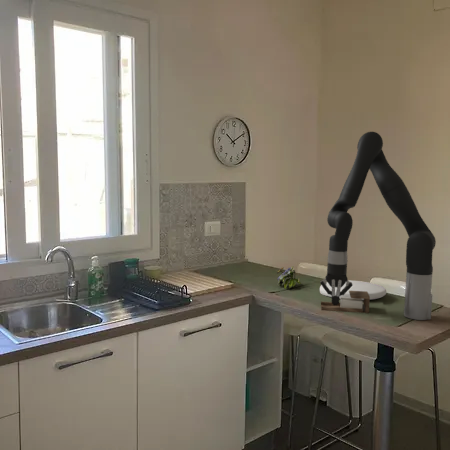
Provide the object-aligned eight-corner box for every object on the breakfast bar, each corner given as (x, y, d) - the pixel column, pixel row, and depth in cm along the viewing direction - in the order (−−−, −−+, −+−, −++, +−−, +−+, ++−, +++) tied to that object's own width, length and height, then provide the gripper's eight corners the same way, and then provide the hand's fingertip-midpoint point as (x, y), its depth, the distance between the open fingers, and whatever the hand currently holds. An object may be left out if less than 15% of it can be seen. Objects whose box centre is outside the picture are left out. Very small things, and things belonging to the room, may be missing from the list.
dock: (366, 309, 208) (367, 291, 207) (368, 315, 200) (369, 297, 199) (320, 306, 211) (321, 289, 210) (321, 312, 203) (322, 294, 202)
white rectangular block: (360, 307, 207) (361, 298, 206) (362, 311, 202) (362, 301, 201) (340, 306, 208) (340, 296, 207) (340, 310, 203) (341, 300, 203)
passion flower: (280, 297, 245) (277, 273, 251) (303, 294, 244) (300, 270, 249) (276, 288, 236) (274, 264, 241) (300, 285, 234) (297, 261, 240)
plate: (309, 286, 225) (333, 276, 247) (310, 301, 225) (334, 289, 247) (373, 290, 209) (393, 278, 231) (374, 306, 209) (393, 293, 231)
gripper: (353, 261, 206) (351, 303, 208) (320, 259, 208) (317, 301, 210) (355, 264, 199) (352, 308, 201) (320, 262, 201) (318, 306, 203)
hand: (334, 304), depth 206 cm, fingers closed
